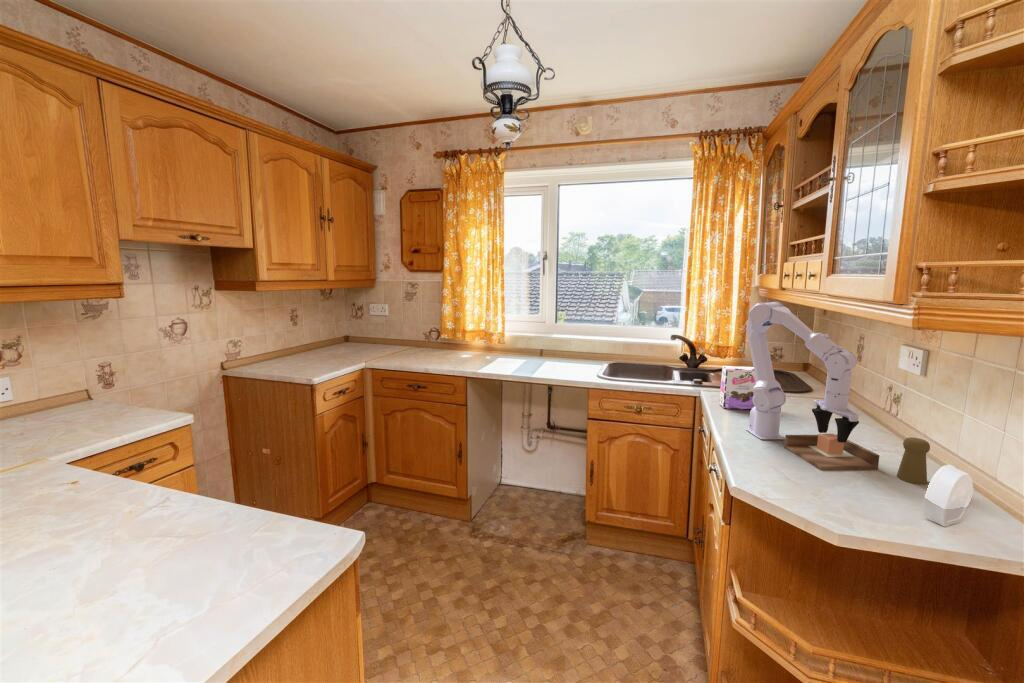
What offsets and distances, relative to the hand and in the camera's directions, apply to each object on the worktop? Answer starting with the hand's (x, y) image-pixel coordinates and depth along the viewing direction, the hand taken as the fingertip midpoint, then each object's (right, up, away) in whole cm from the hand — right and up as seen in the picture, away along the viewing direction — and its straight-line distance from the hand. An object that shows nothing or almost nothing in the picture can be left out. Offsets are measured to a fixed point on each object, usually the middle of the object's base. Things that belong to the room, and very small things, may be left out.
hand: (831, 437), depth 133 cm
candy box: (-4, +2, +47) cm, 47 cm away
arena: (-2, -6, -1) cm, 6 cm away
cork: (+10, -8, -15) cm, 20 cm away
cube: (0, -4, +1) cm, 4 cm away
